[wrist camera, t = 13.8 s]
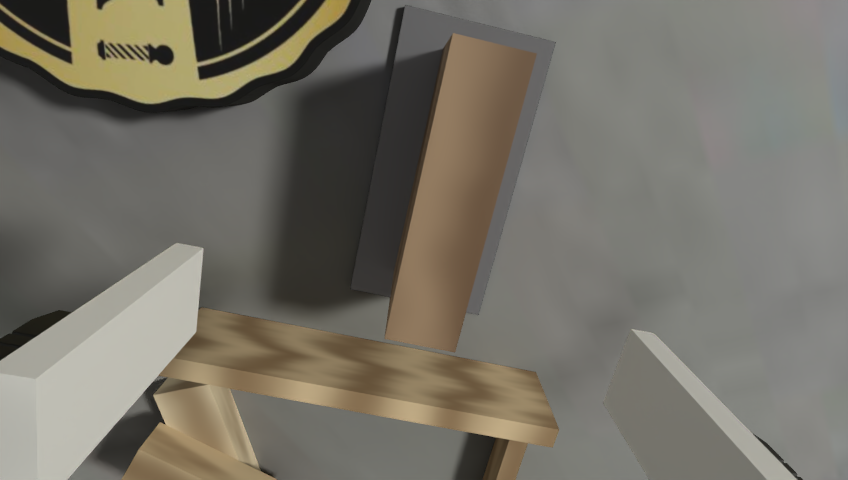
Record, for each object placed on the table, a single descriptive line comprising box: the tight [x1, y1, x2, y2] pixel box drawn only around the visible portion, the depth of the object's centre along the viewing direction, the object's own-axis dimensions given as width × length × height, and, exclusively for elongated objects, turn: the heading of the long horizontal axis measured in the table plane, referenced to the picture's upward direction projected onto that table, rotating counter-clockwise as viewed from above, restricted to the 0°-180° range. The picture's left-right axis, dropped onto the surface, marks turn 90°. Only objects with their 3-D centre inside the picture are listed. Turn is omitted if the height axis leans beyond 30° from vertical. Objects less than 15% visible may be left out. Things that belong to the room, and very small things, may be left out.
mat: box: [350, 5, 556, 315], centre depth 35 cm, size 10×20×1 cm, turn 167°
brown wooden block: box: [385, 33, 537, 352], centre depth 30 cm, size 4×16×10 cm, turn 167°
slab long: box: [153, 377, 261, 471], centre depth 41 cm, size 4×16×3 cm, turn 12°
